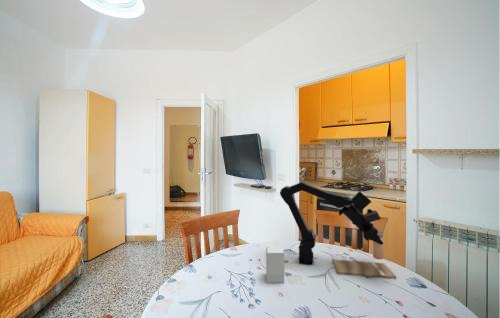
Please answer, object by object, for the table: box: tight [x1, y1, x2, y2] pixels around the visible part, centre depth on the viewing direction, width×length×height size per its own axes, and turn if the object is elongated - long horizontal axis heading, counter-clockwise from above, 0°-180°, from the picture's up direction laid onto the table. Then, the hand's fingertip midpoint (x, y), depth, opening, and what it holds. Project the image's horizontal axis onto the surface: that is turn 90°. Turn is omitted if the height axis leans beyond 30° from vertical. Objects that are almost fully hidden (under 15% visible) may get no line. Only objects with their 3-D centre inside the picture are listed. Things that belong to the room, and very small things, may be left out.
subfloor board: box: [331, 259, 397, 279], centre depth 102 cm, size 24×12×1 cm, turn 79°
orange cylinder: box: [372, 231, 384, 260], centre depth 100 cm, size 4×4×11 cm
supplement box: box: [265, 245, 285, 284], centre depth 95 cm, size 7×7×13 cm
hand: (381, 242), depth 99 cm, fingers closed on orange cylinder, 4 cm apart
